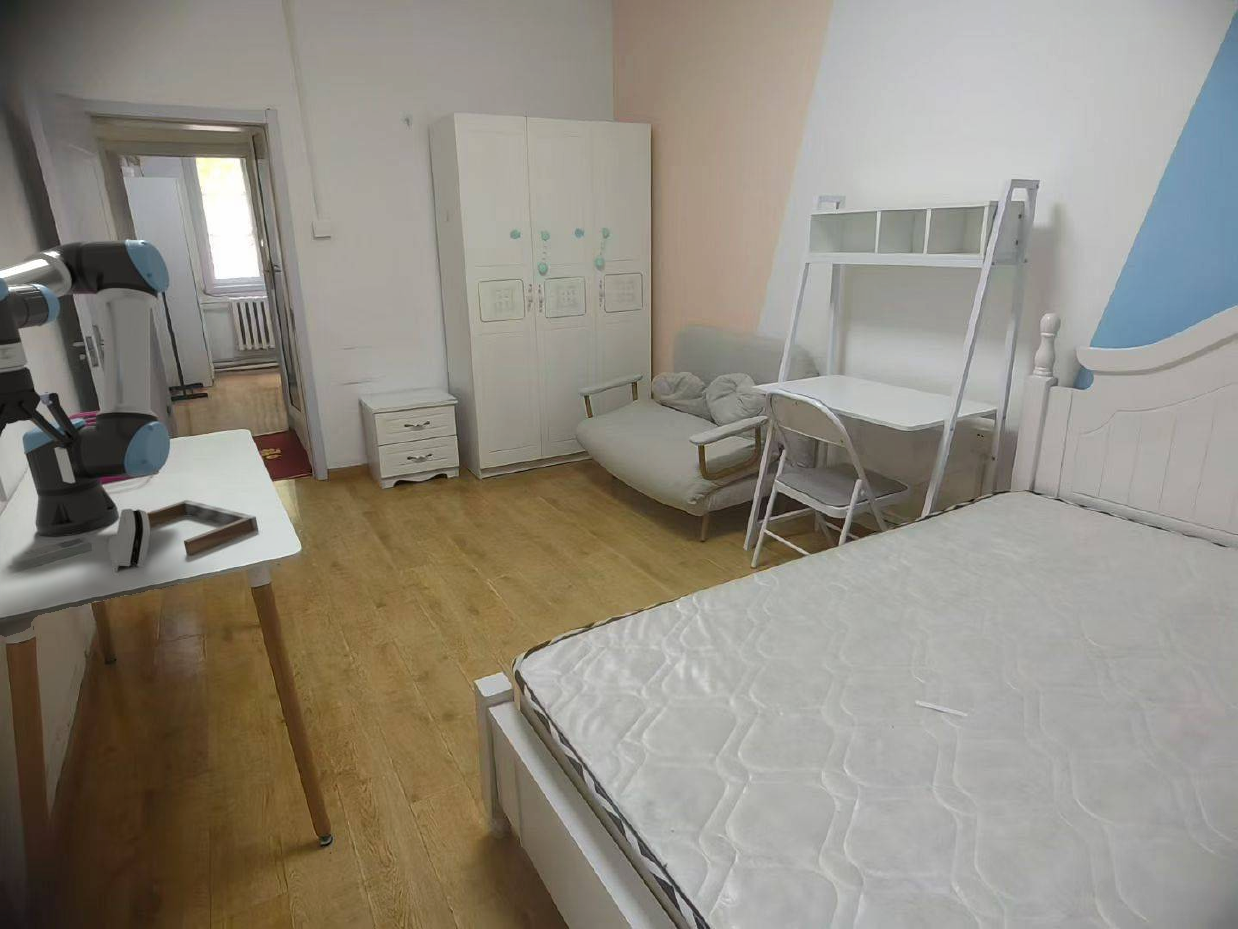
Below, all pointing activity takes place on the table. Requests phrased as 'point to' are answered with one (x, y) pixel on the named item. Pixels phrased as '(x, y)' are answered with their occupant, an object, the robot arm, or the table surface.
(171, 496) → the table surface
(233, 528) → the brown u-shaped frame
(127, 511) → the hinge
